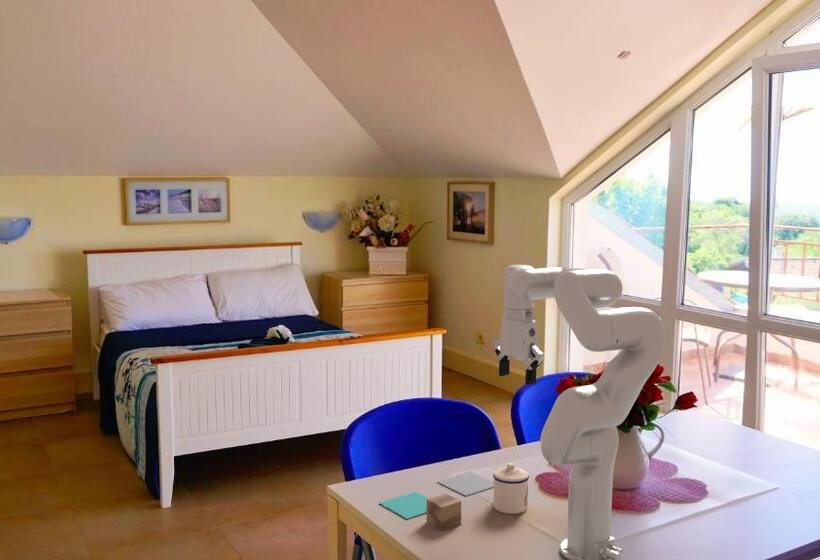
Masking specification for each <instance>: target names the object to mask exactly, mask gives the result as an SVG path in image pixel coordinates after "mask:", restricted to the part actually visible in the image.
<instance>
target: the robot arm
mask: <svg viewBox="0 0 820 560" xmlns="http://www.w3.org/2000/svg"><path fill="white" fill-rule="evenodd" d="M623 288H624V287H623V282H622V280H621V279H620V277H619V276H618V275H617V274H616V273H614V272H612V271H611V270H607V269H605V268H586V267H585V268H583V267H582V268H581V267H560V266H559V267H557V266H556V267H541V268H540V267H539V268H534V267H533V266H531V265H528V264H511V265H508V266H507V267H506V268H505V270H504V299H503V303H504V304H503V305H504V306H503V317H502V322H501V326H500V331H499V332H500V335H499V339H496V340H494V341H493V343H492V344H493V347H494V349H495V351H494V352H495V354H496V356H497V357H496V358H497V361H499V362H498V376H499V377H504V376H509V375H510V369H511V368H510V363H511V361H510V360H511V359H509V358H513V359H515V360H518V361H524V364H525V366H526V368H525V376H524V379H525V385H526V386H529V385H533V384H536V383H537V369H539V367H540V365H542V362H543V360H544V358H545V354H544V353H543V352H542V351H541V350H540V348H539V331H538V324H537V320H535V317H536V313H535V300H547V299H555V302H556V305H557V307H558V309H559V310H560V313H561V315H562V316H563V317H564V319H565V322H567V324H568V326H569V328H570V329H571V331H572V333H573V335H574V336H575V337H576V339H577V341H578V342H579V344H580V345H581V346H582V347H583V348H584V349H586V350H588V351H589V352H593V353H601V352H610V351H619V350H621V351H620V352H619V353H618V354H616V355H615V356H614V357H613V358H612V359H611V360H610V361H609V362H608V363H607V364H606V366H605V367H604V369H603V371H602V373H601V375H600V376H599V377H600V378H598V380H597V381H596V382H594V383H591V384H587V385H580V386H573V387H570V388H567V389H566V390H564V391H562V393H560V394H559V395H558V397H556V400H555V402H554V404H553V406H552V408H551V411H550V413H549V415H548V417H547V419H546V421H545V424H544V426H543V429H542V431H541V434H540V440H539V441H540V444H539V445H540V446H539V447H540V451H541V454H542V456H543V458H544V460H545V461H547V463H549V464H550V465H552V466H558V467H562V466H563V467H564V466H569V465H572V466H571V469H570V473H569V476H568V496H567V497H568V499H567V500H568V502H567V504H568V505H567V534H566V535H567V538H565V539H564V540H562V542H560V545H559V551H560V553H561V555H562V556H563V557H564V558H565V559H567V560H621V556H622V554H624V553H623V552H624V550H623V549H622V548H621V547H617V546H615V537H613V536H611V535H612V533H611V532H612V505H613V504H612V502H613V501H612V500H613V483H614V482H613V479H614V477H613V476H614V467H615V461H616V457H617V452H618V449H619V441H620V439H619V437H620V436H619V432H618V428H617V427H618V426H620V425H621V424H623V422H625V420H626V418H627V417H628V415H629V413H630V411H631V410H632V407H634V404H635V402H636V400H637V398H638V397H639V396H640V393H641V391H642V390H643V387H644V386H645V384H646V382H647V380H649V378H650V377H651V375H652V374H653V372H654V371H655V370H656V368H657V366H658V364H659V363H660V360H661V359H662V356H663V352H664V348H665V330H664V325H663V322H662V320H661V318H660V316H659V315H658V314H657V313H656V312H655V311H653V310H651V309H649V308H645V307H638V306H630V307H616V308H609V307H611V306H613V305H615V304H616V303H617V302H618V301H619V299H621V297H622V294H623Z"/></svg>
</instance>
